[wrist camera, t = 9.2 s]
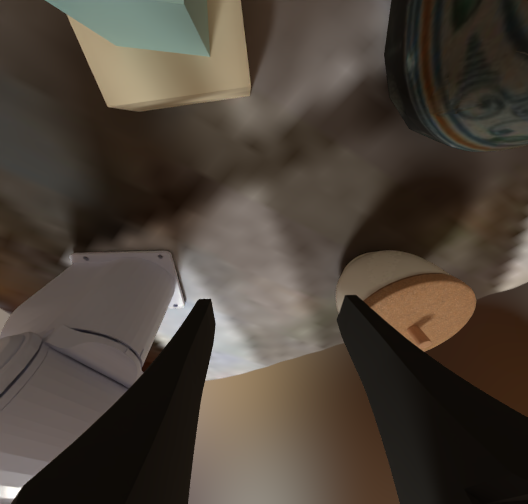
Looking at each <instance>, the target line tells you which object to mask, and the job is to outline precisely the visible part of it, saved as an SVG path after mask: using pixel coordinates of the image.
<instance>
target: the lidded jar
mask: <svg viewBox="0 0 528 504" xmlns="http://www.w3.org/2000/svg"><path fill="white" fill-rule="evenodd" d="M345 295H357V296H358V297H359V298H360V299H362V300H363V301H364V302H365V303H366V304H367V305H368V306H369V307H371V308H372V309H373V310H374V311H375V312H376V313H377V314H378V315H379V316H381V317H382V318H383V319H384V320H385V321H386V322H388V323H389V324H390V325H391V326H392V327H393V328H395V329H396V330H397V331H398V332H399V333H401V334H402V335H403V336H404V337H405V338H407V339H408V340H409V341H411V342H412V343H413V344H414V345H416V346H417V347H418V348H419V349H421V350H422V351H423V352H424V351H427V350H429V349H431V348H433V347H435V346H437V345H439V344H441V343H442V342H444V341H446V340H447V339H449V338H450V337H452V336H453V335H454V334H455V333H457V332H458V331H459V330H460V329H461V328H462V327H463V326H464V325H465V324H466V323H467V322H468V320H469V319H470V317H471V316H472V314H473V312H474V309H475V305H476V298H475V294H474V292H473V290H472V289H471V288H470V287H469V286H468V285H466V284H465V283H464V282H462V281H461V280H459V279H458V278H456V277H453V276H451V275H450V274H448V273H447V272H445V271H444V270H442V269H441V268H439V267H438V266H436V265H435V264H433V263H431V262H429V261H427V260H425V259H423V258H421V257H418V256H416V255H413V254H410V253H406V252H402V251H395V250H382V251H376V252H368V253H364V254H362V255H359V256H357V257H356V258H354V259H353V260H351V261H350V262H349V263H348V264H347V265H346V267H345V268H344V270H343V272H342V274H341V276H340V278H339V280H338V283H337V287H336V305H337V310H338V313H339V312H340V309H341V306H342V303H343V300H344V297H345Z"/></svg>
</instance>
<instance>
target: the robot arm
mask: <svg viewBox="0 0 528 504" xmlns="http://www.w3.org/2000/svg"><path fill="white" fill-rule="evenodd" d="M159 255H162V256H163V257H161V256H159ZM87 257H88V258H89V259H88V258H87ZM69 258H70V260H71V262H72V263H73V264H72V265H71V266H70V267H68V268H67V269H66V270H65V271H63V272H62V273H61V274H60V275H58V276H57V277H56V278H54V279H53V280H52V281H51V282H49V283H48V284H47V285H45V286H44V287H43V288H42V289H40V290H39V291H38V292H37V293H35V294H34V295H33V296H31V297H30V298H29V299H28V300H26V301H25V302H24V303H22V304H21V305H20V306H19V307H18V308H17V309H16V310H15V311H14V312H13V313H12V314H11V316H10V317H9V319H8V320H7V322H6V324H5V325H4V328H3V330H2V332H1V336H0V504H188V497H189V488H190V479H191V471H192V462H193V454H194V445H195V439H196V431H197V424H198V417H199V409H200V402H201V397H202V391H203V387H204V383H205V378H206V374H207V369H208V365H209V361H210V356H211V352H212V347H213V342H214V334H215V318H214V313H213V307H212V302H211V299H199V300H198V301H197V302H196V304H195V306H194V307H193V309H192V310H191V312H190V313H189V315H188V316H187V318H186V319H185V321H184V322H183V324H182V325H181V327H180V328H179V329H178V331H177V332H176V334H175V335H174V336H173V338H172V339H171V340H170V342H169V343H168V344H167V345H166V347H165V348H164V349H163V350H162V352H161V353H160V354H159V355H158V357H157V358H156V359H155V360H154V361H153V363H152V364H151V365H150V366H149V367H148V368H147V370H146V371H145V372H144V373H143V372H142V370H141V368H142V366H143V363H144V361H145V359H146V357H147V354H148V352H149V350H150V347H151V345H152V343H153V341H154V338H155V336H156V334H157V331H158V329H159V327H160V325H161V322H162V320H163V318H164V315H165V313H166V311H167V309H171V308H183V307H184V306H185V301H184V297H183V294H182V290H181V287H180V283H179V279H178V276H177V272H176V269H175V265H174V261H173V258H172V254H171V253H170V252H169V251H128V252H86V253H73V254H71V255H70V256H69ZM176 304H177V305H176ZM337 322H338V326H339V329H340V332H341V335H342V338H343V341H344V343H345V345H346V347H347V350H348V352H349V354H350V356H351V359H352V361H353V363H354V365H355V368H356V370H357V372H358V374H359V376H360V379H361V381H362V383H363V386H364V388H365V391H366V393H367V396H368V399H369V402H370V405H371V408H372V410H373V413H374V416H375V419H376V423H377V425H378V429H379V432H380V435H381V438H382V441H383V445H384V448H385V451H386V455H387V458H388V461H389V465H390V468H391V472H392V476H393V479H394V483H395V486H396V490H397V494H398V498H399V502H400V504H528V417H526V416H524V415H522V414H521V413H519V412H517V411H515V410H514V409H512V408H510V407H508V406H507V405H505V404H503V403H502V402H500V401H498V400H496V399H495V398H493V397H491V396H490V395H488V394H486V393H485V392H483V391H482V390H480V389H478V388H477V387H475V386H473V385H472V384H470V383H469V382H467V381H466V380H464V379H463V378H461V377H459V376H458V375H456V374H455V373H453V372H452V371H450V370H449V369H447V368H446V367H444V366H443V365H442V364H440V363H439V362H437V361H436V360H435V359H433V358H432V357H430V356H429V355H428V354H426V353H425V352H423V351H422V350H421V349H419V348H418V347H417V346H416V345H414V344H413V343H412V342H411V341H409V340H408V339H407V338H405V337H404V336H403V335H402V334H401V333H399V332H398V331H397V330H396V329H395V328H393V327H392V326H391V325H390V324H389V323H388V322H386V321H385V320H384V319H383V318H382V317H381V316H379V315H378V314H377V313H376V312H375V311H374V310H373V309H372V308H371V307H369V306H368V305H367V304H366V303H365V302H364V301H363V300H362V299H360V298H359V297H358V296H357V295H345V297H344V300H343V303H342V306H341V309H340V312H339V315H338V318H337Z"/></svg>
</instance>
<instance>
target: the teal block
mask: <svg viewBox="0 0 528 504" xmlns="http://www.w3.org/2000/svg"><path fill="white" fill-rule="evenodd" d="M45 1H47V2H48V3H50V4H52V5H53V6H55V7H56V8H58V9H59V10H61V11H63V12H64V13H66V14H67V15H69V16H70V17H72V18H73V19H75V20H77V21H78V22H80V23H81V24H83V25H84V26H86V27H88V28H89V29H91V30H92V31H94V32H95V33H97V34H98V35H100V36H102V37H103V38H105V39H106V40H108V41H109V42H111V43H113V44H114V45H116V46H121V47H130V48H138V49H147V50H156V51H164V52H173V53H182V54H190V55H199V56H207V57H210V46H209V29H208V11H207V0H45Z"/></svg>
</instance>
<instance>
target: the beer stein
mask: <svg viewBox="0 0 528 504" xmlns="http://www.w3.org/2000/svg"><path fill="white" fill-rule="evenodd" d="M384 57H385V65H386V73H387V81H388V89H389V97H390V99H391V100H392V102H393V103H394V105H395V107H396V108H397V110H398V111H399V113H400V115H401V116H402V118H403V119H404V121H405V123H406V124H407V126H408V127H409V129H411V130H413V131H415V132H418V133H420V134H422V135H424V136H427V137H429V138H431V139H433V140H436V141H438V142H440V143H443V144H445V145H448V146H451V147H454V148H457V149H461V150H465V151H472V152H494V151H501V150H507V149H513V148H518V147H522V146H525V145H528V0H392V1H391V8H390V16H389V23H388V30H387V38H386V45H385V53H384Z"/></svg>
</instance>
